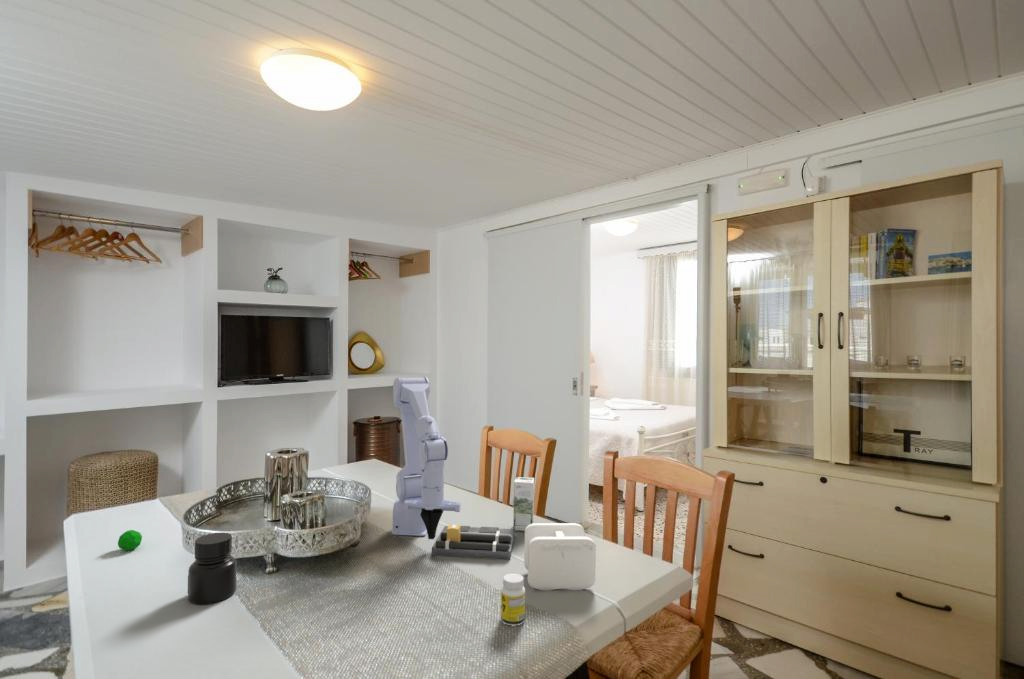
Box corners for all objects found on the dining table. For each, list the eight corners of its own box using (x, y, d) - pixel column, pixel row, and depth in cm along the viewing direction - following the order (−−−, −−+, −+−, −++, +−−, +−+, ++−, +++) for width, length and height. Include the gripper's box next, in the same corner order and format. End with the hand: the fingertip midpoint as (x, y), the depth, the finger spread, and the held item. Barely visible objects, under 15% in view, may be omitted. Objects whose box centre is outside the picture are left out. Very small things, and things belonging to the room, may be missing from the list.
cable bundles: (435, 548, 132) (435, 541, 132) (443, 535, 142) (443, 528, 142) (509, 552, 130) (509, 545, 130) (512, 538, 140) (512, 531, 140)
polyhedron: (113, 551, 132) (114, 532, 133) (135, 544, 137) (135, 526, 137) (124, 555, 130) (124, 535, 130) (145, 548, 134) (146, 529, 135)
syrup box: (533, 525, 156) (534, 476, 156) (532, 532, 150) (533, 482, 150) (514, 524, 156) (515, 476, 156) (512, 531, 151) (513, 481, 151)
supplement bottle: (499, 614, 104) (500, 572, 105) (523, 614, 105) (524, 572, 105) (501, 627, 100) (502, 583, 100) (526, 627, 100) (526, 583, 100)
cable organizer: (586, 571, 125) (587, 522, 125) (595, 592, 115) (596, 539, 115) (523, 571, 124) (524, 522, 124) (527, 593, 114) (528, 539, 114)
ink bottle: (227, 581, 117) (228, 527, 117) (245, 593, 112) (246, 537, 112) (178, 596, 110) (180, 539, 110) (195, 611, 104) (196, 550, 104)
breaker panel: (431, 555, 133) (431, 544, 133) (444, 533, 149) (445, 523, 149) (510, 559, 131) (510, 548, 131) (515, 536, 147) (515, 526, 147)
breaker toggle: (446, 544, 134) (447, 528, 134) (449, 540, 137) (449, 523, 137) (458, 544, 134) (458, 528, 134) (460, 540, 137) (460, 524, 137)
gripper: (400, 488, 133) (400, 542, 133) (457, 491, 132) (456, 545, 132) (408, 481, 140) (407, 532, 140) (462, 483, 139) (461, 534, 139)
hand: (431, 537), depth 136 cm, fingers closed
